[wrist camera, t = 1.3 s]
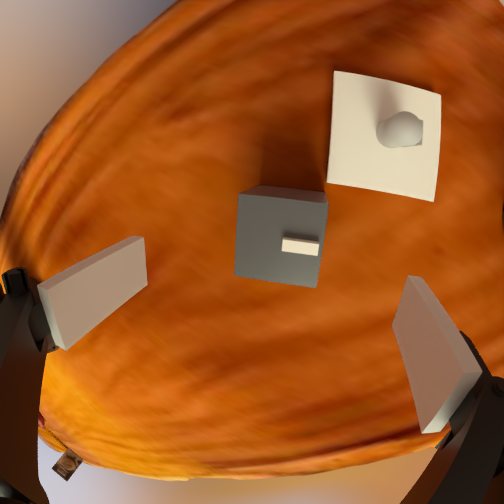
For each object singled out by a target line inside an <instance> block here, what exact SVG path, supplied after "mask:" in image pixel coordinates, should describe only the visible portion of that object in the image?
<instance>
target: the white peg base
mask: <svg viewBox="0 0 504 504" xmlns="http://www.w3.org/2000/svg"><path fill="white" fill-rule="evenodd" d="M440 133H441V95H439V94H436V93H433V92H430V91H426V90H423V89H420V88H416V87H413V86H409V85H405V84H401V83H397V82H393V81H389V80H385V79H380V78H375V77H370V76H365V75H359V74H353V73H347V72H340V71H334V75H333V98H332V117H331V132H330V145H329V157H328V168H327V178H326V182H327V183H333V184H340V185H347V186H353V187H360V188H366V189H372V190H377V191H383V192H388V193H393V194H399V195H404V196H409V197H413V198H418V199H423V200H427V201H432V202H433V201H434V195H435V188H436V180H437V172H438V162H439V150H440Z"/></svg>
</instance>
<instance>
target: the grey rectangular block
mask: <svg viewBox="0 0 504 504" xmlns="http://www.w3.org/2000/svg"><path fill="white" fill-rule="evenodd" d="M328 206H329V203H328V200H327V197H326V194H325V192H319V191H311V190H303V189H294V188H285V187H276V186H266V185H257V186H255V187H253V188H251V189H248V190H246V191H244V192H241V193H239V194H238V211H237V229H236V249H235V270H234V276H239V277H246V278H252V279H258V280H265V281H271V282H278V283H285V284H291V285H298V286H305V287H312V288H316V285H317V280H318V274H319V268H320V262H321V256H322V249H323V243H324V236H325V229H326V221H327V214H328Z"/></svg>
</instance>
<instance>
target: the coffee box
mask: <svg viewBox="0 0 504 504" xmlns="http://www.w3.org/2000/svg"><path fill="white" fill-rule="evenodd" d="M82 462H83V459H81V458H80V457H79V456H78V455H76V454H75V453H74V452H73V451H72V450H70V449H69V448H68V449H67V450H66V452H65V453H64V454H63V456H61V458H60V459H59V460H58V461H57V463H56V464H55V465H54V466H53V467H52V469H53V470H54V471H55V472H56V473H57V474H59V475H60V476H61V477H62V478H64V479H65V480H66V481H68V480H69V478H70V477H71V476H72V474H73V473H74V472H75V471H76V469H77V468H78V467H79V465H80V464H81V463H82Z"/></svg>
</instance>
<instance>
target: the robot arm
mask: <svg viewBox="0 0 504 504" xmlns="http://www.w3.org/2000/svg"><path fill="white" fill-rule="evenodd" d="M1 276H2V280H3V283H4V287H5V290H6V294H4V292H3V288H2V285H1V283H0V504H49V500H48V497H47V495H46V492H45V491H44V489H43V487H42V486H41V484H40V481H39V477H38V453H37V452H38V450H37V449H38V446H37V445H38V442H37V441H38V418H39V405H40V395H41V387H42V379H43V372H44V366H45V360H46V355H47V353H50V352H53V351H56V350H57V349H58V348H60V347H61V348H62V349H64V350H66V351H67V350H68V349H69V348H70V347H71V346H72V345H74V344H75V343H76V342H77V341H78V340H80V339H81V338H82V337H83V336H84V335H86V334H87V333H88V332H89V331H90V330H92V329H93V328H94V327H95V326H96V325H98V324H99V323H100V322H101V321H103V320H104V319H105V318H106V317H107V316H109V315H110V314H111V313H112V312H114V311H115V310H116V309H117V308H119V307H120V306H121V305H122V304H124V303H125V302H126V301H127V300H129V299H130V298H131V297H132V296H134V295H135V294H136V293H137V292H139V291H140V290H141V289H143V288H144V287H145V286H146V285H148V283H147V273H146V261H145V247H144V237H139V236H131V237H129V238H127V239H124V240H122V241H120V242H118V243H116V244H114V245H112V246H110V247H108V248H106V249H104V250H102V251H100V252H98V253H96V254H94V255H92V256H90V257H88V258H86V259H84V260H82V261H80V262H78V263H76V264H75V265H73V266H71V267H69V268H67V269H65V270H63V271H61V272H60V273H58V274H56V275H54V276H52V277H51V278H49V279H47V280H45V281H43V282H42V283H40V284H39V283H38V282H37V281H36V280H35V279H33V278H31V277H29V276H28V272H27V269H26V268H23V267H20V268H13V269H11V270H8V271H6V272H5V273H3V274H2V275H1ZM392 328H393V331H394V334H395V337H396V340H397V343H398V346H399V349H400V352H401V355H402V358H403V362H404V365H405V369H406V372H407V375H408V379H409V383H410V386H411V390H412V394H413V398H414V402H415V406H416V410H417V415H418V419H419V424H420V428H421V433H432V432H440V431H441V430H442V428H443V427H444V426H445V425H446V423H447V422H448V421H449V422H450V425H451V430H450V431H449V432H448V433H447V435H446V436H445V437H444V438H443V439H442V440H441V441H440V442H439V444H438V445H437V446H436V447H435V448H436V449H437V448H438V447H439V446H440V447H439V448H438V450H437V452H436V453H435V455H434V456H433V458H432V460H431V461H430V463H429V464H428V466H427V467H426V469H425V470H424V472H423V473H422V475H421V476H420V478H419V479H418V480H417V482H416V483H415V485H414V486H413V487H412V489H411V490H410V491H409V493H408V494H407V495H406V496H405V498H404V499H403V500H402V501H401V503H400V504H504V379H503V378H500V377H496V376H492V375H491V373H490V372H489V370H488V368H487V366H486V365H485V363H484V361H483V359H482V358H481V356H480V355H479V353H478V351H477V349H476V348H475V346H474V344H473V343H472V341H471V340H470V338H469V337H468V336H466V335H465V334H464V333H463V332H462V331H459V330H458V329H457V327H456V326H455V324H454V323H453V321H452V320H451V318H450V316H449V315H448V313H447V312H446V311H445V309H444V308H443V306H442V305H441V303H440V302H439V300H438V299H437V298H436V296H435V295H434V293H433V292H432V291H431V289H430V288H429V286H428V285H427V284H426V282H425V281H424V280H423V278H422V277H417V276H410V275H408V276H407V280H406V283H405V287H404V290H403V293H402V297H401V300H400V303H399V306H398V309H397V312H396V315H395V318H394V321H393V324H392Z"/></svg>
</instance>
